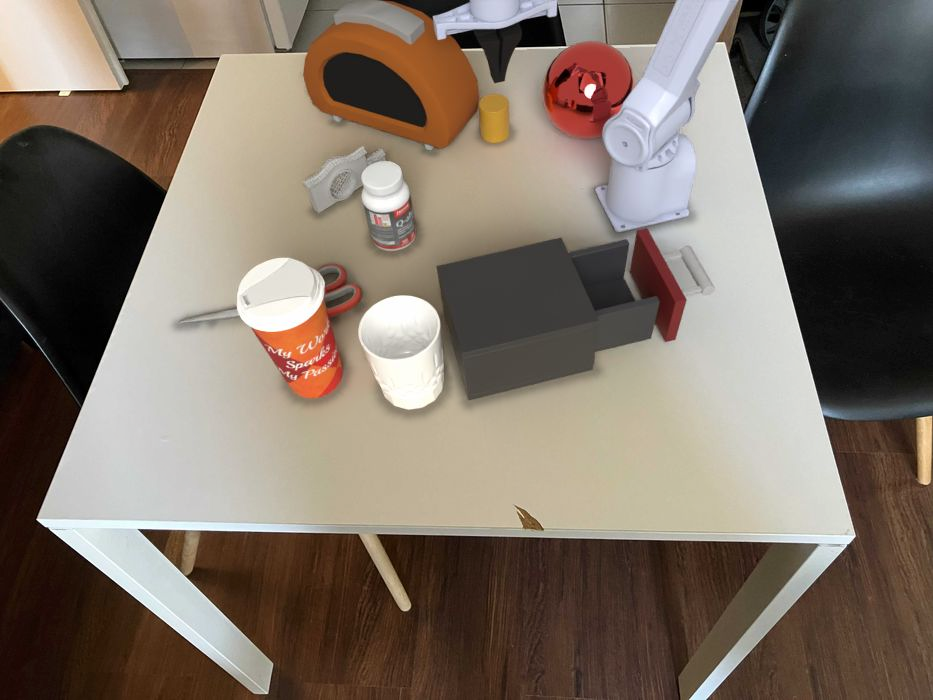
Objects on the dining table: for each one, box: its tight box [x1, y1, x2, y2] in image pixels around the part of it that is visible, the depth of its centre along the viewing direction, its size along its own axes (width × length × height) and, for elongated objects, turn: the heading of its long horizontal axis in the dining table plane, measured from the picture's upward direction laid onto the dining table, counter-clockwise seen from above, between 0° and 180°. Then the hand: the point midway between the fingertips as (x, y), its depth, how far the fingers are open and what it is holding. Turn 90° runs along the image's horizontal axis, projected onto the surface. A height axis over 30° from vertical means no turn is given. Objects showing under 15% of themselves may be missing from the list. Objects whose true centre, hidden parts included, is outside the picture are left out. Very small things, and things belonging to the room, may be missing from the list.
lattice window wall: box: [302, 145, 387, 214], centre depth 93 cm, size 12×2×6 cm, turn 132°
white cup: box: [357, 294, 445, 410], centre depth 73 cm, size 8×8×10 cm
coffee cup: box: [236, 257, 343, 399], centre depth 72 cm, size 8×8×15 cm
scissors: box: [178, 263, 363, 324], centre depth 83 cm, size 8×21×2 cm, turn 112°
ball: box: [541, 40, 636, 140], centre depth 94 cm, size 12×12×12 cm
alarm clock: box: [302, 0, 480, 152], centre depth 96 cm, size 23×9×17 cm, turn 61°
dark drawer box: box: [436, 237, 599, 401], centre depth 75 cm, size 14×12×9 cm
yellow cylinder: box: [478, 93, 511, 144], centre depth 97 cm, size 4×4×5 cm
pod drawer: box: [568, 227, 716, 353], centre depth 76 cm, size 17×10×7 cm, turn 104°
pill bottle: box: [361, 160, 417, 252], centre depth 85 cm, size 6×6×10 cm
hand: (497, 77), depth 91 cm, fingers closed
